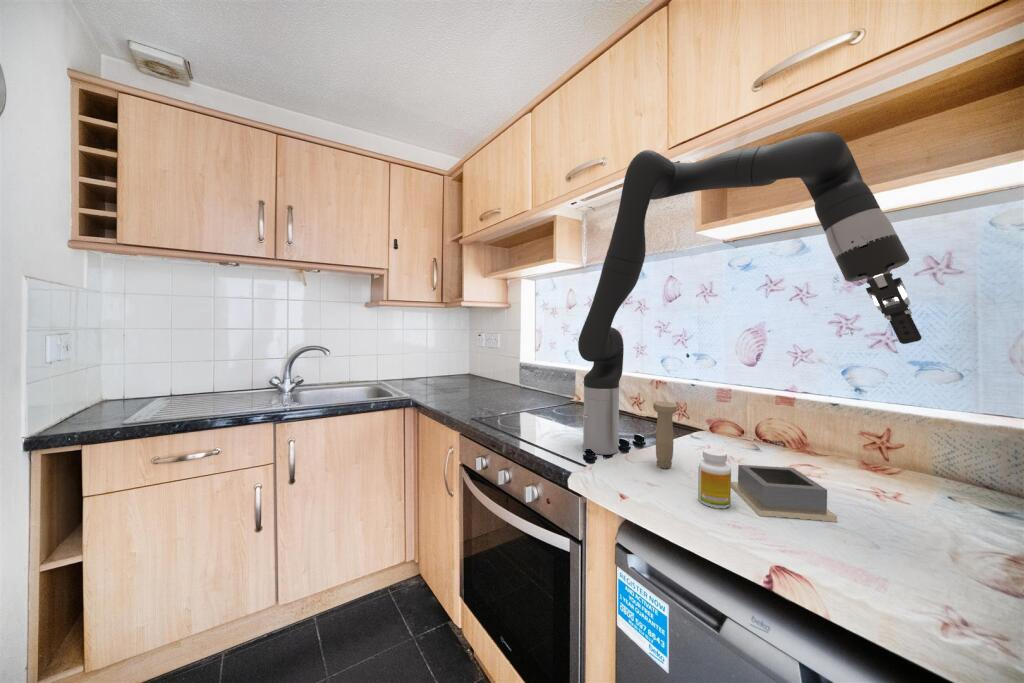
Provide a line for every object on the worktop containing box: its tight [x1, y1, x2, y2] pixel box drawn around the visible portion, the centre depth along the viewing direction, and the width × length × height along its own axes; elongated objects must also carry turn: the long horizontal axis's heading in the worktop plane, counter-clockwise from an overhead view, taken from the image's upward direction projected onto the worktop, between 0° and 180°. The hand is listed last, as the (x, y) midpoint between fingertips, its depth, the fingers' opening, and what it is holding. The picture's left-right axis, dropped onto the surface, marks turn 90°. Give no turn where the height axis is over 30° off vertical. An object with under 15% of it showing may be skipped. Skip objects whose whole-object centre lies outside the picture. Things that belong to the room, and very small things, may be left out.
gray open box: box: [731, 464, 838, 523], centre depth 68 cm, size 12×12×5 cm
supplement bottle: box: [697, 448, 732, 509], centre depth 68 cm, size 5×5×10 cm
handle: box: [652, 400, 678, 469], centre depth 86 cm, size 5×6×15 cm
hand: (912, 341), depth 54 cm, fingers open, 8 cm apart
